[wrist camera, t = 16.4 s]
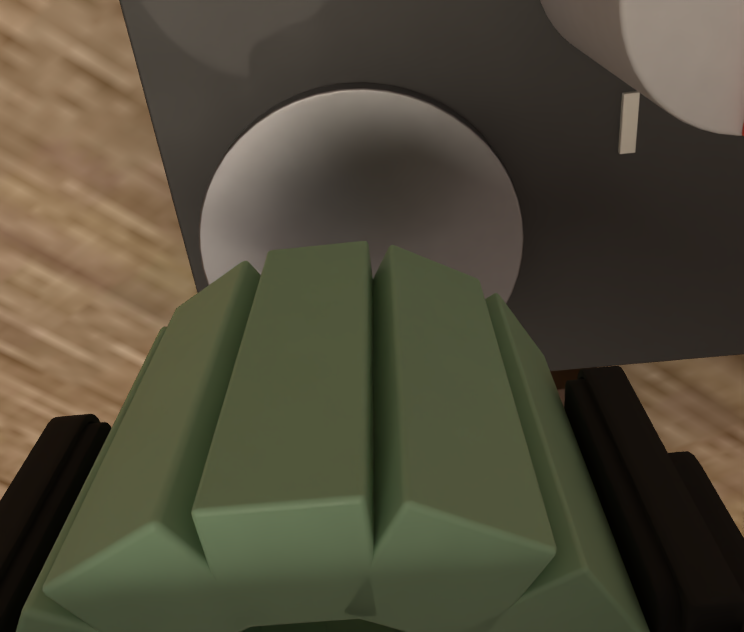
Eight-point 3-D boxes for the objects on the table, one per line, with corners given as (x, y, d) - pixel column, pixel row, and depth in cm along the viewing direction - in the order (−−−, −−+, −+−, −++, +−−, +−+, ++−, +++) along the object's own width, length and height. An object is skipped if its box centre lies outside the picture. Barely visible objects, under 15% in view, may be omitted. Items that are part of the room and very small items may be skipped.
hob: (819, -316, 15) (920, -366, 12) (721, 300, 22) (770, 355, 19) (107, -215, 16) (50, -241, 13) (242, 345, 23) (224, 404, 20)
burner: (518, 63, 16) (523, 68, 15) (520, 360, 20) (524, 372, 19) (167, 102, 16) (161, 109, 16) (239, 385, 20) (235, 397, 20)
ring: (553, 219, 10) (699, 470, 5) (546, 548, 13) (632, 867, 9) (89, 267, 10) (-120, 538, 6) (197, 576, 13) (116, 894, 9)
